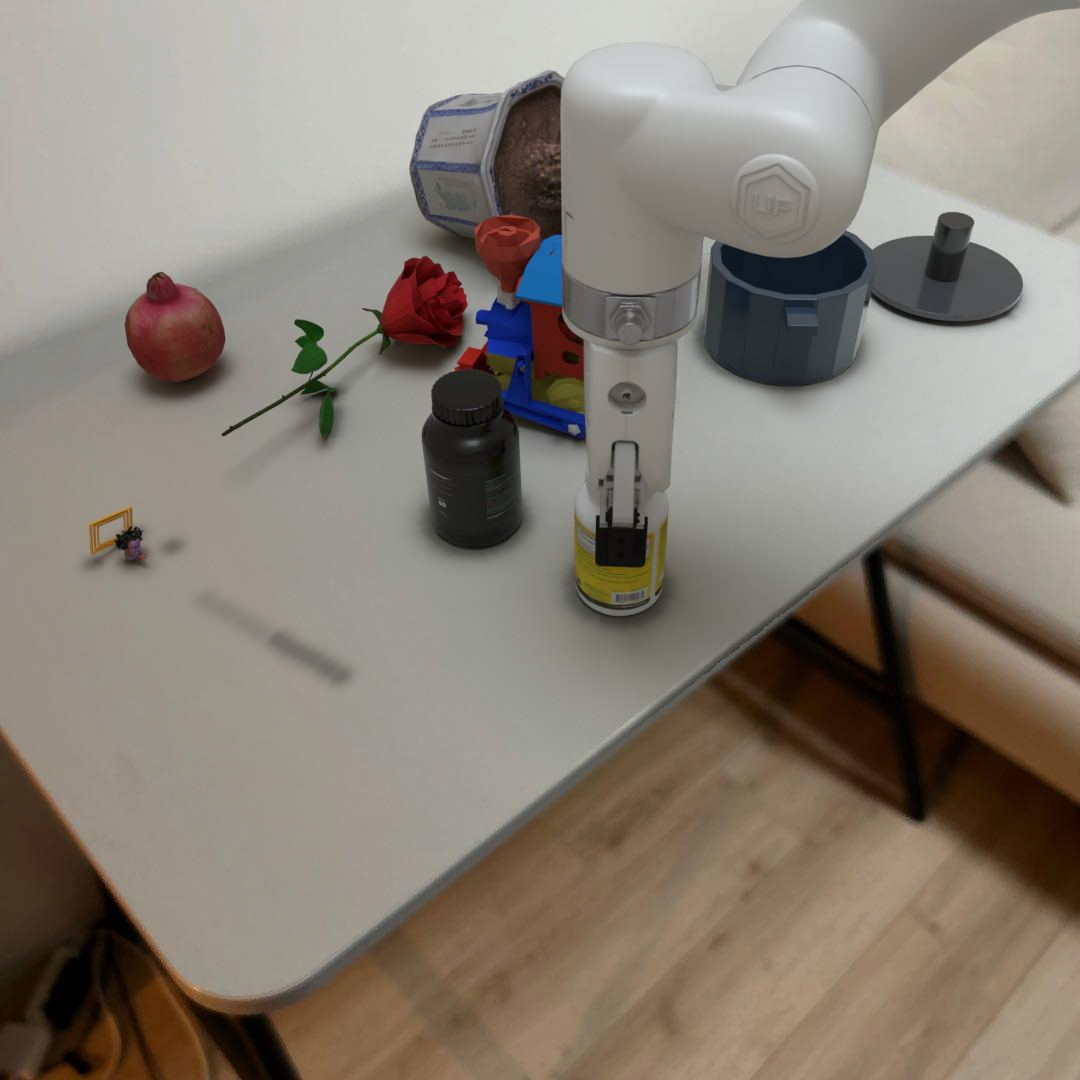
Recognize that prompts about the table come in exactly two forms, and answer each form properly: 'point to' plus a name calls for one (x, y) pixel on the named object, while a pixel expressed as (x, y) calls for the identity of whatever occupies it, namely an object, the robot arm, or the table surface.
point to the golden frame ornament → (119, 535)
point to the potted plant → (492, 157)
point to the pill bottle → (618, 585)
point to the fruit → (174, 330)
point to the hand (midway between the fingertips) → (620, 524)
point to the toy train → (529, 326)
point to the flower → (387, 327)
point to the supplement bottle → (472, 460)
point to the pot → (788, 311)
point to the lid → (946, 274)
